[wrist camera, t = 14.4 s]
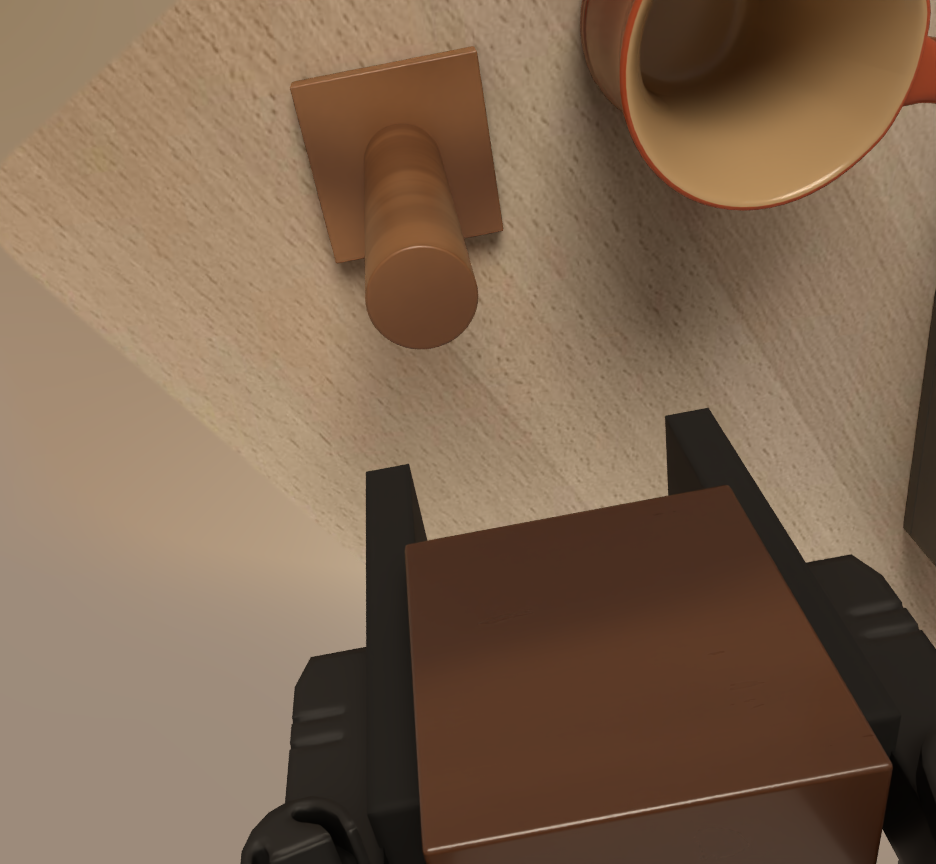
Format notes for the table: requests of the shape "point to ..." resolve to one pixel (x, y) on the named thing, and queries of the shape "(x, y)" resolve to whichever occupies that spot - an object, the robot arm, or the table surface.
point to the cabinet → (925, 461)
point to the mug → (758, 87)
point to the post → (405, 185)
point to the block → (631, 697)
